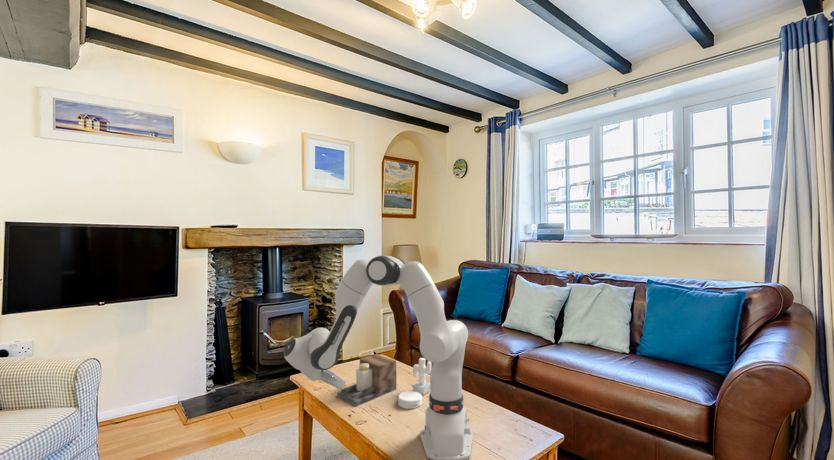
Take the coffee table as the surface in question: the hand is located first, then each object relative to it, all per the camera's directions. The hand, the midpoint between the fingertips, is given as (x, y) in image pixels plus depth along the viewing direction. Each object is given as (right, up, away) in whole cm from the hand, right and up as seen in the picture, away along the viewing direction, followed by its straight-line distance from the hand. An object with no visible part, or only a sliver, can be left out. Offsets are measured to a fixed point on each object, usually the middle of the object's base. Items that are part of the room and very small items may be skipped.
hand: (337, 385), depth 156 cm
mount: (+12, -8, +12) cm, 19 cm away
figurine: (+36, -8, +11) cm, 38 cm away
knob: (+10, -6, +10) cm, 16 cm away
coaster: (+30, -8, +1) cm, 31 cm away
